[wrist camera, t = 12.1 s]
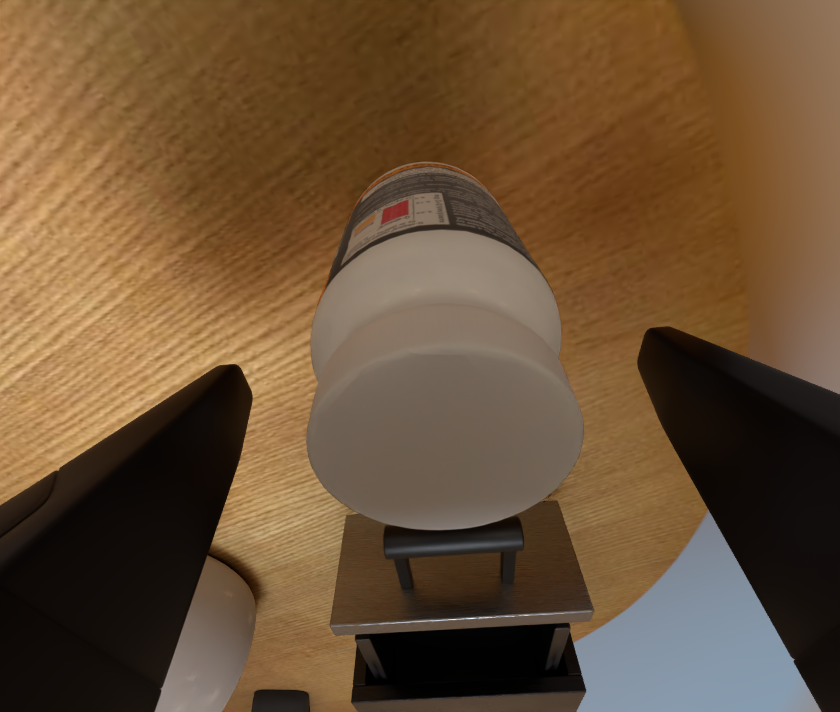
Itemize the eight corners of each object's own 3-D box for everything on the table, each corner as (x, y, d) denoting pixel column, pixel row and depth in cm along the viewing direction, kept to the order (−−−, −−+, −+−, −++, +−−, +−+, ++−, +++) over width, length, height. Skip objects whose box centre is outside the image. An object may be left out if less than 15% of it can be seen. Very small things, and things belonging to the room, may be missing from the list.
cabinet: (363, 569, 29) (350, 702, 23) (549, 557, 29) (586, 691, 23) (390, 638, 37) (385, 751, 31) (535, 630, 37) (560, 744, 31)
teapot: (303, 625, 35) (253, 880, 24) (101, 635, 36) (-37, 888, 25) (224, 502, 24) (66, 870, 13) (-65, 520, 25) (-448, 885, 14)
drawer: (326, 463, 21) (301, 580, 16) (567, 445, 20) (614, 560, 15) (379, 604, 31) (373, 701, 26) (540, 595, 30) (563, 692, 26)
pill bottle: (317, 206, 14) (185, 403, 6) (470, 123, 12) (575, 233, 4) (394, 330, 17) (376, 570, 9) (524, 275, 15) (642, 502, 7)
